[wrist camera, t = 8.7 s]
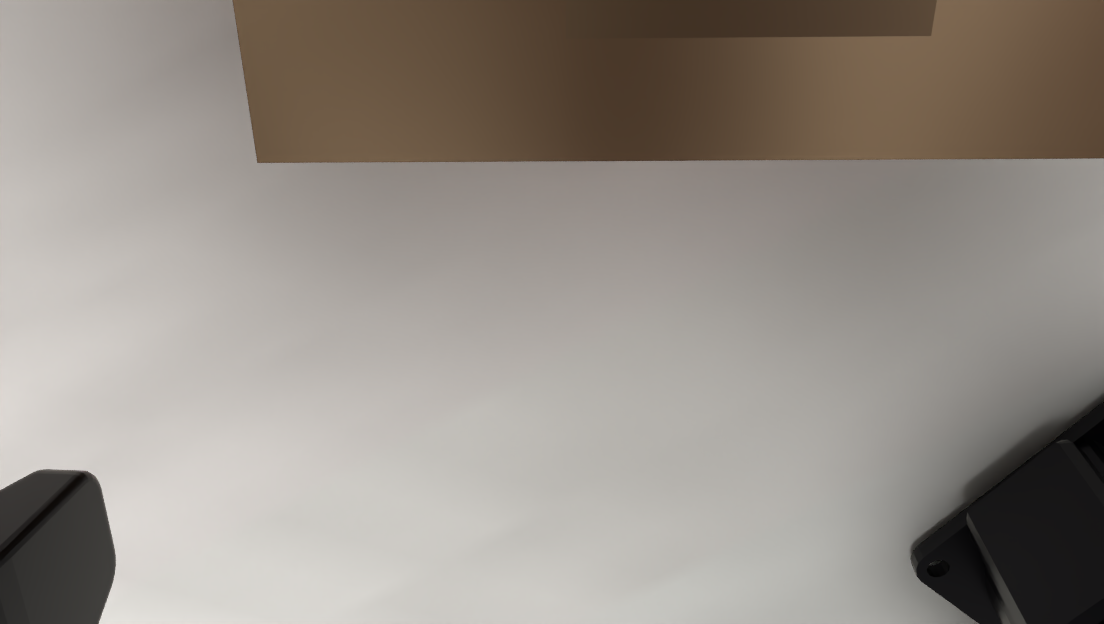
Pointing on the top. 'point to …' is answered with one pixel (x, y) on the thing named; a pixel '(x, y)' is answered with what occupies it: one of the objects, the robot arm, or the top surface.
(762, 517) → the top surface
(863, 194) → the top surface
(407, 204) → the top surface
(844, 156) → the ridged wooden block
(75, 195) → the top surface
